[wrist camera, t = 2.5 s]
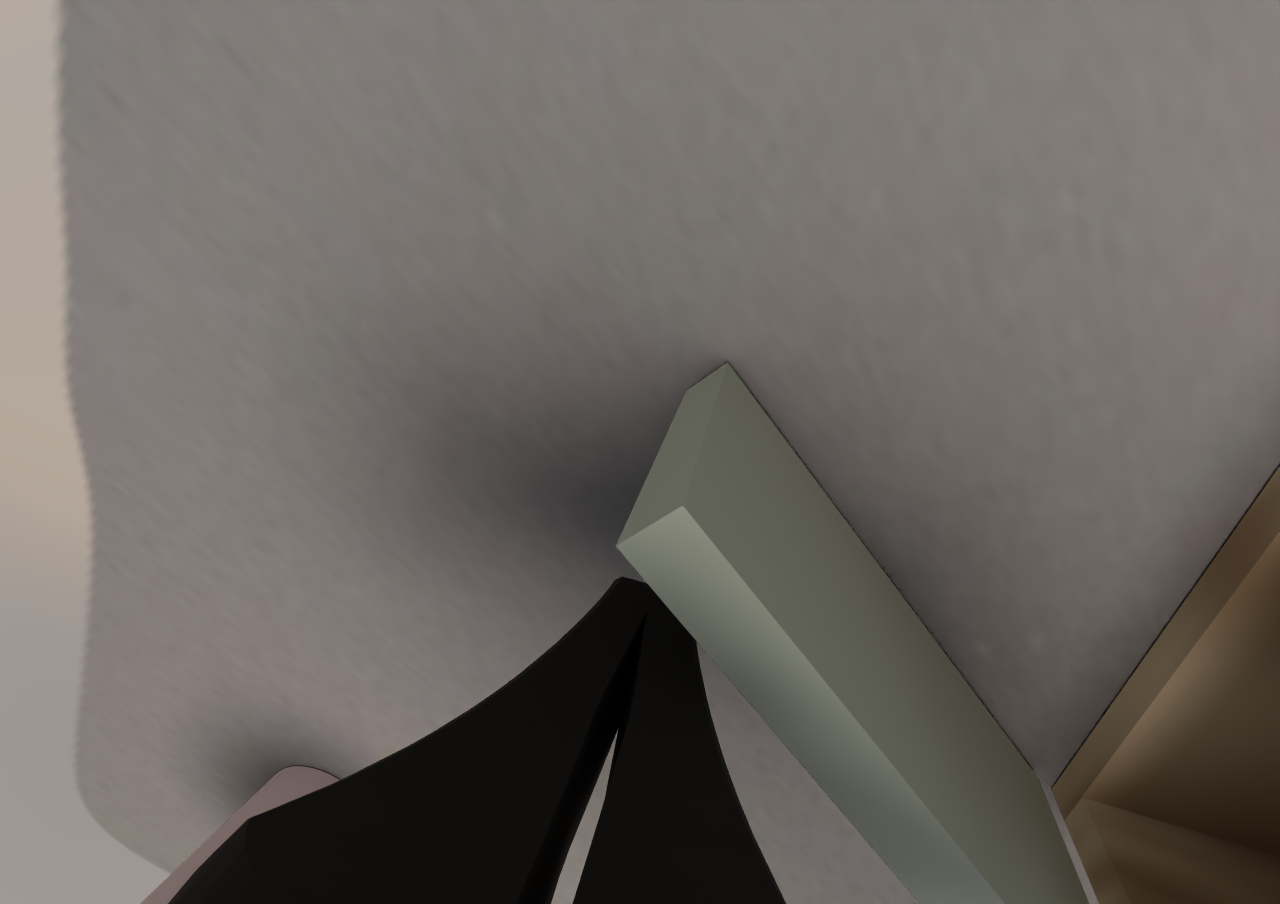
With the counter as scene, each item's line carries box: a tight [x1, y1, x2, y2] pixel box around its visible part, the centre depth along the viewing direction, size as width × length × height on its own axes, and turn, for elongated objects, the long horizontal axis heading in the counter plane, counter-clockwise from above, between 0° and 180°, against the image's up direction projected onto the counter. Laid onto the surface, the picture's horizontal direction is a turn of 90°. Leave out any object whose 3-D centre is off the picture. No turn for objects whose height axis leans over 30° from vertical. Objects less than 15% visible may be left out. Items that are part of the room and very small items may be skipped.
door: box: [616, 362, 1089, 904], centre depth 11 cm, size 12×2×6 cm, turn 39°
